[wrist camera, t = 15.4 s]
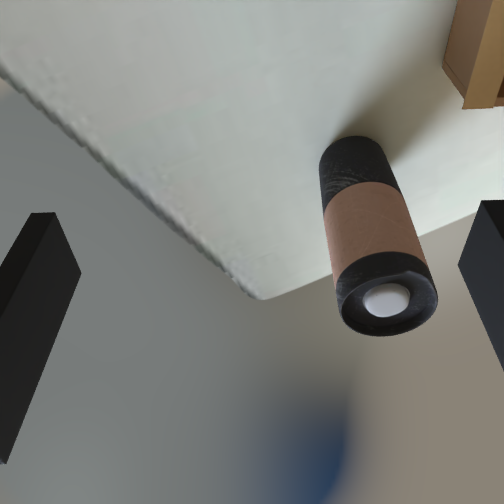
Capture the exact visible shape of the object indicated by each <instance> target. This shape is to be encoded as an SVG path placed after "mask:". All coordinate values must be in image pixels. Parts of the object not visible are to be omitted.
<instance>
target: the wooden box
mask: <svg viewBox="0 0 504 504" xmlns="http://www.w3.org/2000/svg"><path fill="white" fill-rule="evenodd" d="M442 69H443V70H444V72H445V73H446V74H447V76H448V77H449V79H450V80H451V81H452V83H453V84H454V86H455V87H456V88H457V90H458V91H459V93H460V94H461V96H462V97H463V98H464V103H463V107H462V109H485V108H493V107H497V106H504V0H458V1H457V6H456V10H455V14H454V18H453V23H452V27H451V31H450V35H449V40H448V44H447V48H446V52H445V56H444V61H443V65H442Z"/></svg>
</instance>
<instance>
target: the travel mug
mask: <svg viewBox="0 0 504 504" xmlns="http://www.w3.org/2000/svg"><path fill="white" fill-rule="evenodd" d="M319 177H320V187H321V197H322V206H323V216H324V224H325V230H326V236H327V242H328V248H329V254H330V260H331V266H332V272H333V278H334V284H335V289H336V295H337V301H338V307H339V312H340V316H341V318H342V320H343V322H344V323H345V324H346V325H347V326H348V327H349V328H350V329H352V330H354V331H356V332H358V333H360V334H364V335H369V336H393V335H398V334H402V333H405V332H408V331H410V330H413V329H415V328H417V327H418V326H420V325H422V324H423V323H424V322H426V321H427V320H428V319H429V318H430V317H431V316H432V315H433V313H434V312H435V310H436V307H437V303H438V295H437V291H436V288H435V285H434V282H433V279H432V276H431V274H430V271H429V268H428V265H427V262H426V259H425V257H424V254H423V251H422V248H421V245H420V242H419V240H418V237H417V234H416V231H415V228H414V225H413V222H412V220H411V217H410V214H409V211H408V208H407V205H406V203H405V200H404V198H403V195H402V193H401V191H400V188H399V186H398V184H397V181H396V179H395V177H394V174H393V172H392V170H391V167H390V165H389V163H388V160H387V158H386V156H385V154H384V152H383V150H382V148H381V147H380V146H379V145H378V144H377V143H376V142H375V141H373V140H371V139H369V138H366V137H362V136H351V137H346V138H343V139H340V140H338V141H336V142H335V143H333V144H332V145H331V146H329V147H328V148H327V149H326V151H325V152H324V154H323V155H322V157H321V160H320V164H319Z"/></svg>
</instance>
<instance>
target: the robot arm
mask: <svg viewBox="0 0 504 504" xmlns="http://www.w3.org/2000/svg"><path fill="white" fill-rule="evenodd" d="M458 267H459V269H460V272H461V274H462V276H463V278H464V281H465V283H466V285H467V288H468V290H469V292H470V295H471V297H472V299H473V301H474V304H475V306H476V308H477V311H478V313H479V315H480V318H481V320H482V322H483V324H484V327H485V329H486V331H487V334H488V336H489V338H490V341H491V343H492V345H493V348H494V350H495V352H496V354H497V357H498V359H499V361H500V363H501V366H502V368H503V370H504V200H481V203H480V206H479V208H478V211H477V214H476V217H475V219H474V222H473V225H472V227H471V230H470V233H469V236H468V238H467V241H466V244H465V246H464V249H463V252H462V254H461V257H460V260H459V263H458ZM80 276H81V271H80V268H79V266H78V264H77V261H76V259H75V257H74V255H73V253H72V250H71V248H70V245H69V243H68V241H67V239H66V236H65V234H64V232H63V229H62V227H61V225H60V223H59V220H58V218H57V216H56V213H55V212H52V213H31V214H30V216H29V218H28V219H27V221H26V223H25V225H24V226H23V228H22V230H21V231H20V233H19V235H18V237H17V238H16V240H15V242H14V243H13V245H12V247H11V249H10V250H9V252H8V254H7V256H6V257H5V259H4V261H3V262H2V264H1V266H0V464H6V463H7V461H8V458H9V456H10V453H11V451H12V448H13V446H14V443H15V440H16V438H17V435H18V433H19V430H20V428H21V425H22V423H23V420H24V418H25V415H26V413H27V410H28V408H29V405H30V402H31V400H32V397H33V395H34V392H35V390H36V387H37V385H38V382H39V380H40V377H41V375H42V372H43V370H44V367H45V364H46V362H47V359H48V357H49V354H50V352H51V349H52V347H53V344H54V342H55V339H56V337H57V334H58V332H59V329H60V327H61V324H62V321H63V319H64V316H65V314H66V311H67V309H68V306H69V304H70V301H71V299H72V296H73V293H74V291H75V289H76V286H77V283H78V281H79V278H80Z"/></svg>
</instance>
